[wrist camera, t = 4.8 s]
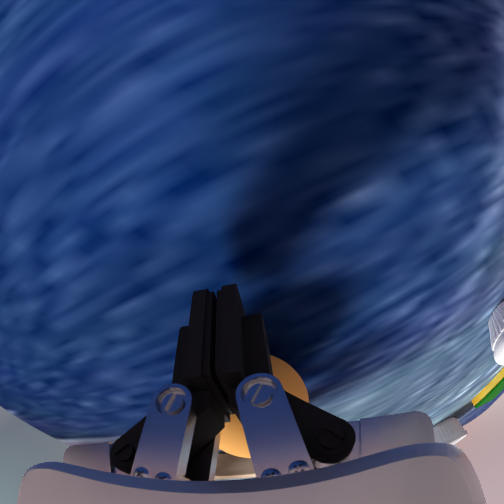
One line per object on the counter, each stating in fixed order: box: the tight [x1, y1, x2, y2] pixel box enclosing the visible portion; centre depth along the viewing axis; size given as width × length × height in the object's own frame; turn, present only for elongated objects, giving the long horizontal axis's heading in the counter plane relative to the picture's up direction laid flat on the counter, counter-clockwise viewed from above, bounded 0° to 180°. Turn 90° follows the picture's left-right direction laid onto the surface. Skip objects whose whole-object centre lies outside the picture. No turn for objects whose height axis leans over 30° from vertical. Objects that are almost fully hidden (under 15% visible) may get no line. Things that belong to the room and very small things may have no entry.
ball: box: [219, 355, 309, 458], centre depth 13 cm, size 6×6×6 cm
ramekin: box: [433, 417, 467, 445], centre depth 33 cm, size 11×11×5 cm
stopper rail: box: [214, 453, 256, 479], centre depth 24 cm, size 18×2×3 cm, turn 101°
